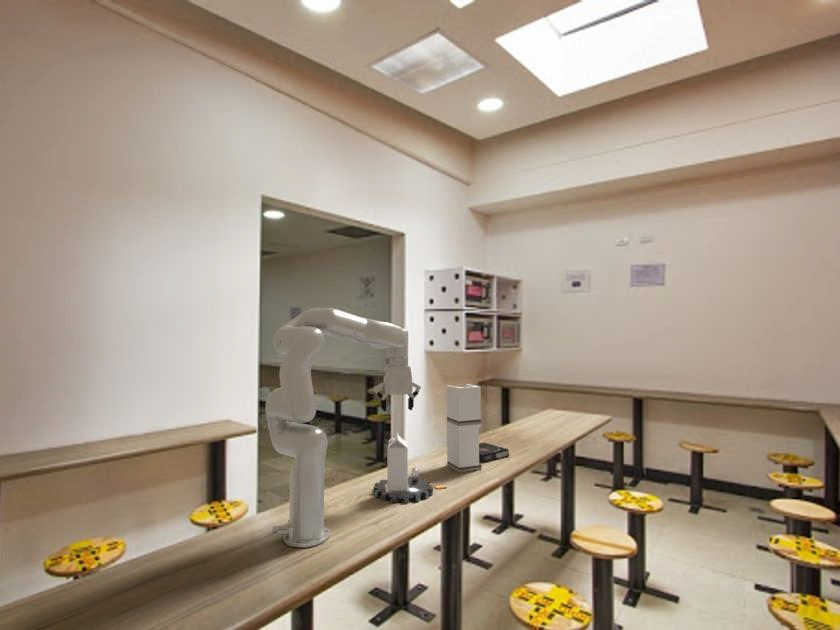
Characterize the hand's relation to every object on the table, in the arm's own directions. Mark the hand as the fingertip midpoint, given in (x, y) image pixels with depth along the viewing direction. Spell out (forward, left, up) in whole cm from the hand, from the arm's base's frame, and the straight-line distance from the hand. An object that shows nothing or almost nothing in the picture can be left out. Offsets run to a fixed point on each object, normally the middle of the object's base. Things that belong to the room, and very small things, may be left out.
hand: (397, 410), depth 163 cm
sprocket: (+3, +3, -30) cm, 31 cm away
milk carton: (0, 0, -28) cm, 28 cm away
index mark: (+17, +3, -30) cm, 35 cm away
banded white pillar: (+36, +24, -31) cm, 53 cm away
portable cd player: (+52, +38, -31) cm, 71 cm away
